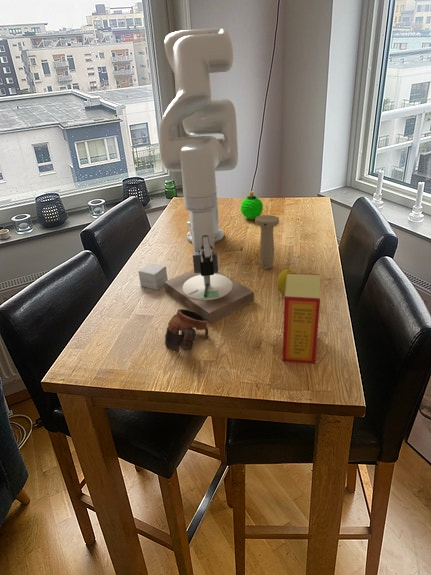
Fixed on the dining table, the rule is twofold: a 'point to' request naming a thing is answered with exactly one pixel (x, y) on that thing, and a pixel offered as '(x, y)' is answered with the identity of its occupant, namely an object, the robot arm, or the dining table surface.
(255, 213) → the ornament
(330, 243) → the dining table surface
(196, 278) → the dial
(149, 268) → the small box
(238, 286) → the board
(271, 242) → the handle
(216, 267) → the grey block with rod
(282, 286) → the lemon
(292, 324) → the baking soda box
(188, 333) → the broken clay pot
